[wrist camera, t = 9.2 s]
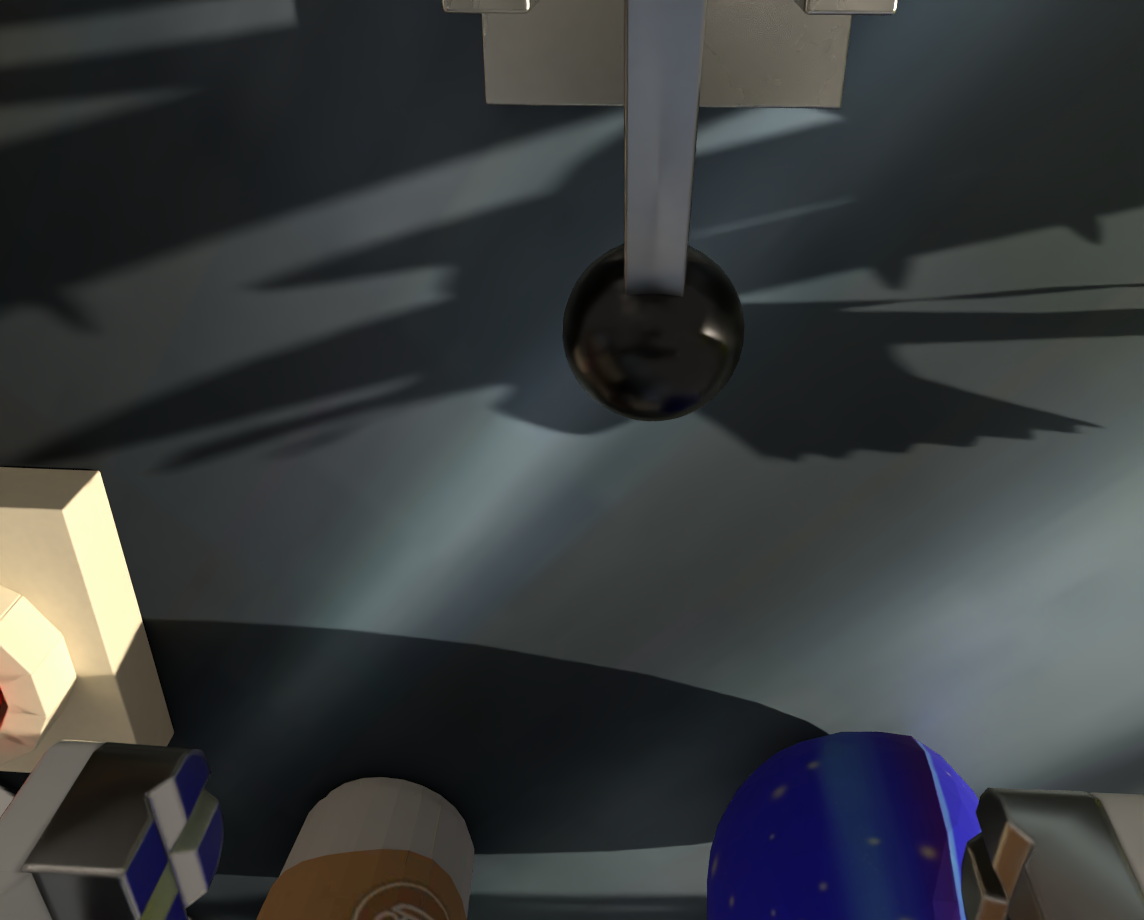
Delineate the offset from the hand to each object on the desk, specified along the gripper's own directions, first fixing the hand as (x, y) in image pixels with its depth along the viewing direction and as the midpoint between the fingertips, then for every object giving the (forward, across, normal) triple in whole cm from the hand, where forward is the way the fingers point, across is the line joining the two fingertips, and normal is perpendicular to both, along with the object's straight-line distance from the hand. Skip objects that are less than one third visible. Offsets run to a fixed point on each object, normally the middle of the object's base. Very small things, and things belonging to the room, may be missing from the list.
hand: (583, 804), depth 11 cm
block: (+18, +20, +13) cm, 30 cm away
